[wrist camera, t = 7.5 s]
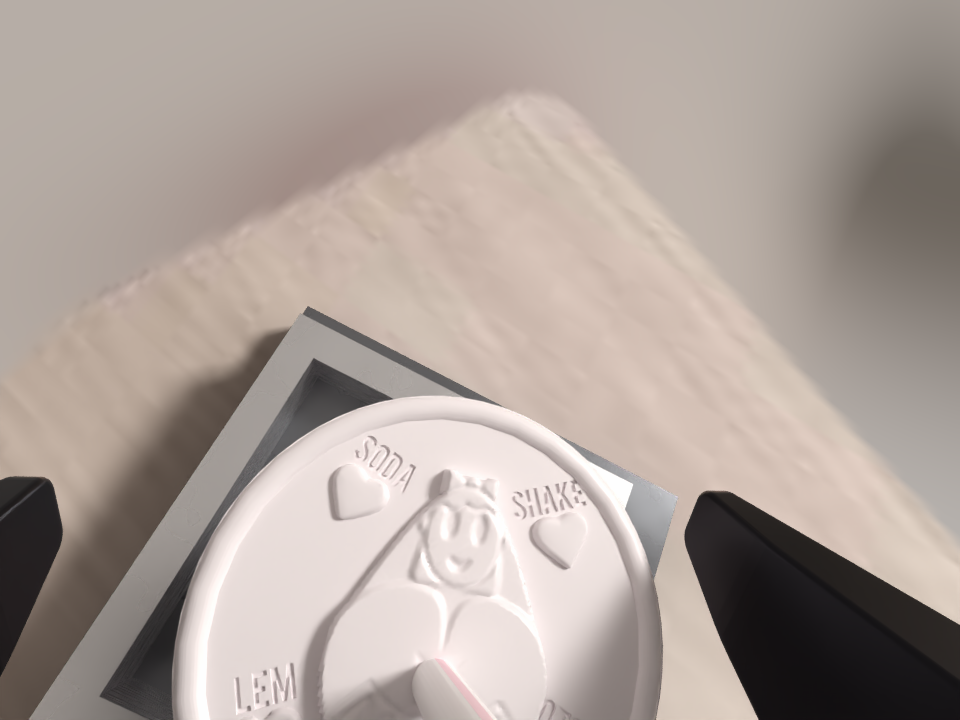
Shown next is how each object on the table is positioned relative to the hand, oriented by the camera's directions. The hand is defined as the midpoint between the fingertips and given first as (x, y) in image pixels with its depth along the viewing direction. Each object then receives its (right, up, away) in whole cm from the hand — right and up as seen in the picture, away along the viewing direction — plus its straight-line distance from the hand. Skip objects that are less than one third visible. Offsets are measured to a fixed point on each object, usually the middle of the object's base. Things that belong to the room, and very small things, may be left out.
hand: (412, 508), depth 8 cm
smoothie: (-2, -4, +8) cm, 10 cm away
